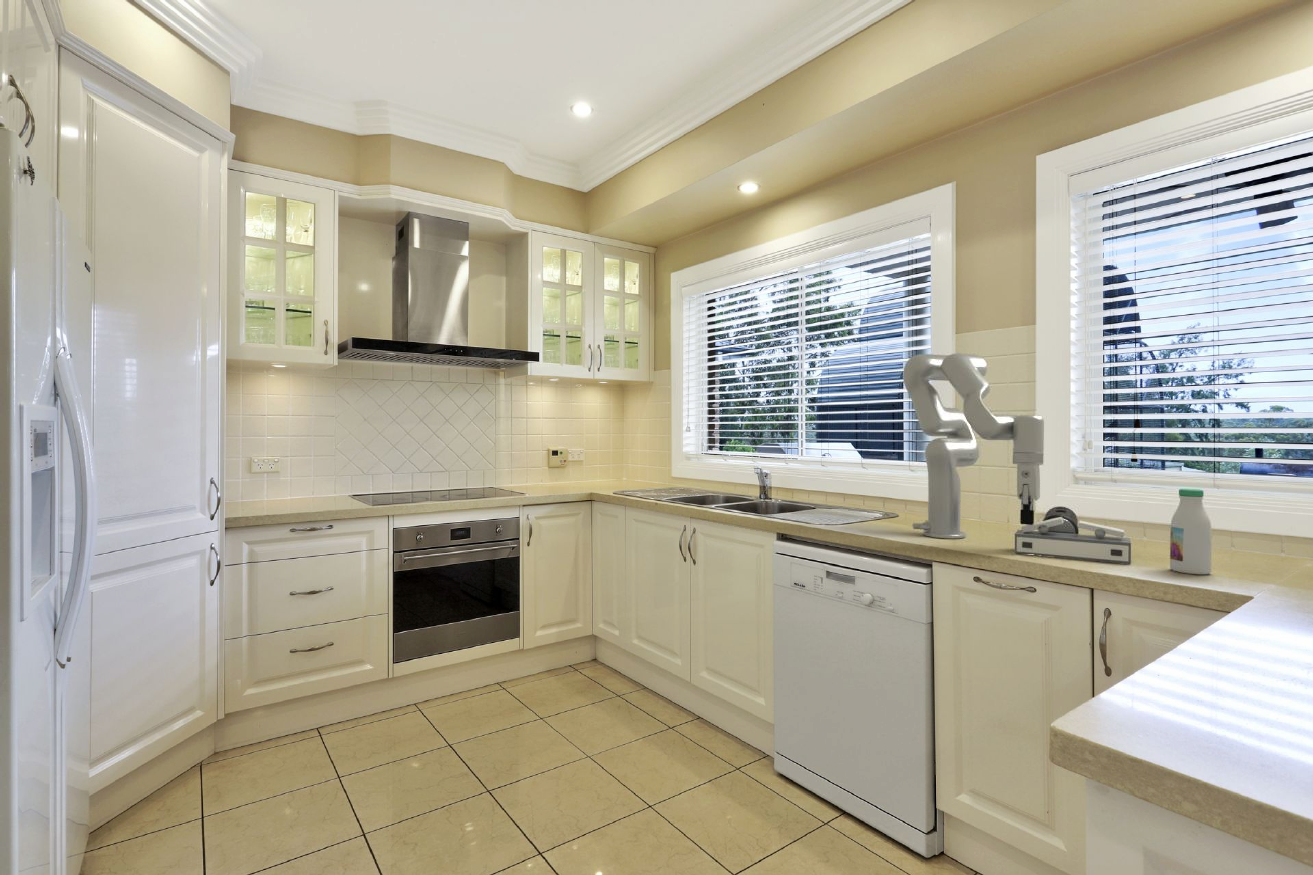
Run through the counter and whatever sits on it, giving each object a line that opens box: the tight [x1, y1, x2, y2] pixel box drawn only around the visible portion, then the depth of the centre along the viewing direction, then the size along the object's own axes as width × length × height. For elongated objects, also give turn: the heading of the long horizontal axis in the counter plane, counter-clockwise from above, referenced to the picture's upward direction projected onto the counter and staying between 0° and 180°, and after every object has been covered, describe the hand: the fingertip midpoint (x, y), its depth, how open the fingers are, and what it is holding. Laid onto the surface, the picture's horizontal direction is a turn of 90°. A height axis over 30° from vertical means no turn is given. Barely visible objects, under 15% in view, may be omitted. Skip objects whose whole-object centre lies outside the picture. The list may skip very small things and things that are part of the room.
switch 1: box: [1020, 517, 1064, 533], centre depth 181 cm, size 10×5×3 cm, turn 55°
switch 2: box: [1078, 520, 1125, 538], centre depth 174 cm, size 10×5×3 cm, turn 56°
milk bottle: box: [1169, 488, 1212, 575], centre depth 158 cm, size 8×8×20 cm
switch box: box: [1014, 529, 1132, 565], centre depth 177 cm, size 26×9×6 cm, turn 56°
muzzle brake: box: [1042, 505, 1080, 534], centre depth 195 cm, size 10×28×10 cm, turn 147°
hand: (1027, 523), depth 183 cm, fingers closed
